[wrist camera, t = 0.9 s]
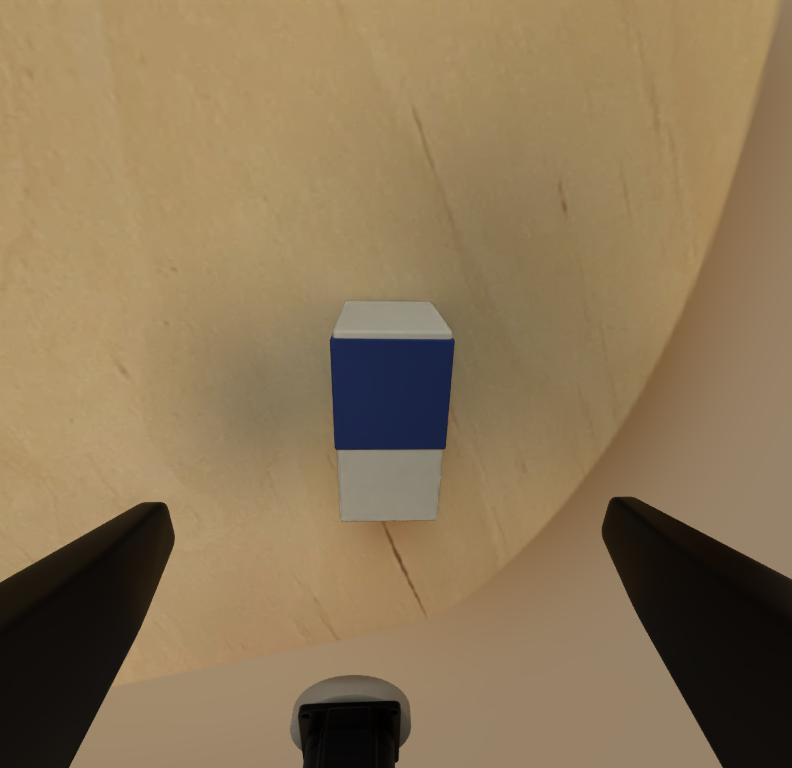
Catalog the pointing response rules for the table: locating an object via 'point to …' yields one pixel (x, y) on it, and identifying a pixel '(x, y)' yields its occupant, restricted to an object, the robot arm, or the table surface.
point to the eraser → (390, 408)
